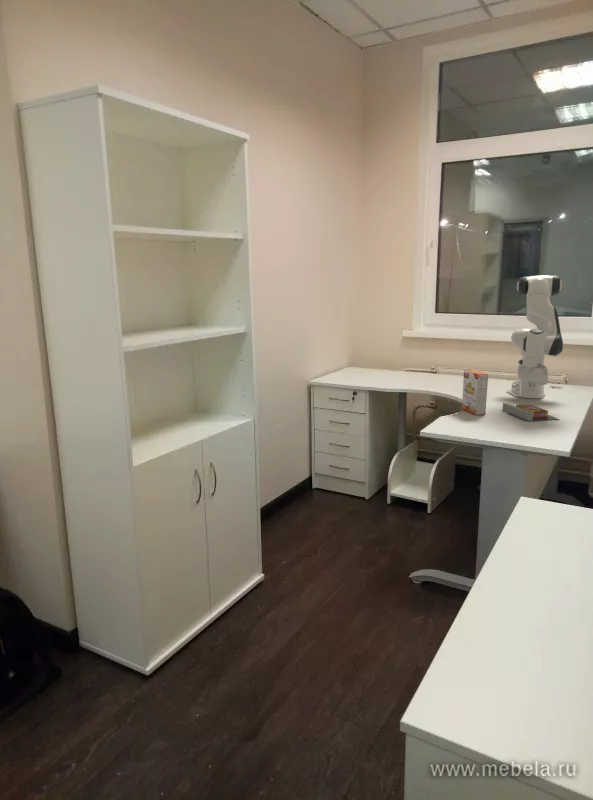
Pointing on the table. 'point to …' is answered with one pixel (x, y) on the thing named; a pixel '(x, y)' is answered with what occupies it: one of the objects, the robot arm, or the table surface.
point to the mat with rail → (522, 413)
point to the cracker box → (474, 392)
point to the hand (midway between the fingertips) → (531, 390)
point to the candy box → (535, 411)
